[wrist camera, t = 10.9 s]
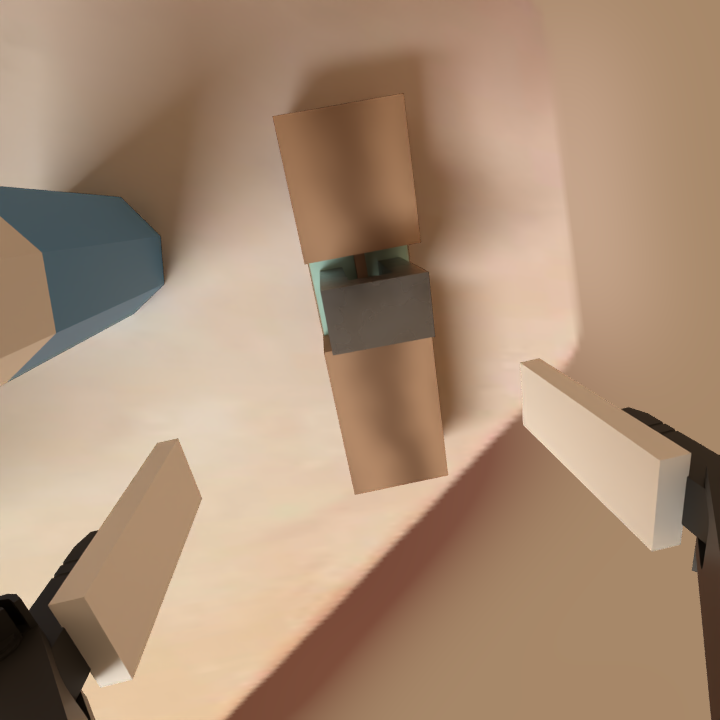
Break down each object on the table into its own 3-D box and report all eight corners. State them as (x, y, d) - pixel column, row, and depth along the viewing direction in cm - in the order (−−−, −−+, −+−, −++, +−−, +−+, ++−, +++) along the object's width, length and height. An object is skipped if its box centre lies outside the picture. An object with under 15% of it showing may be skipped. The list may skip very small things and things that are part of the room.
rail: (350, 460, 39) (354, 494, 34) (279, 132, 29) (272, 116, 24) (432, 443, 39) (448, 475, 34) (389, 112, 29) (403, 93, 25)
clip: (328, 319, 33) (332, 355, 25) (319, 271, 32) (320, 291, 23) (405, 305, 34) (435, 336, 25) (399, 256, 32) (428, 271, 24)
